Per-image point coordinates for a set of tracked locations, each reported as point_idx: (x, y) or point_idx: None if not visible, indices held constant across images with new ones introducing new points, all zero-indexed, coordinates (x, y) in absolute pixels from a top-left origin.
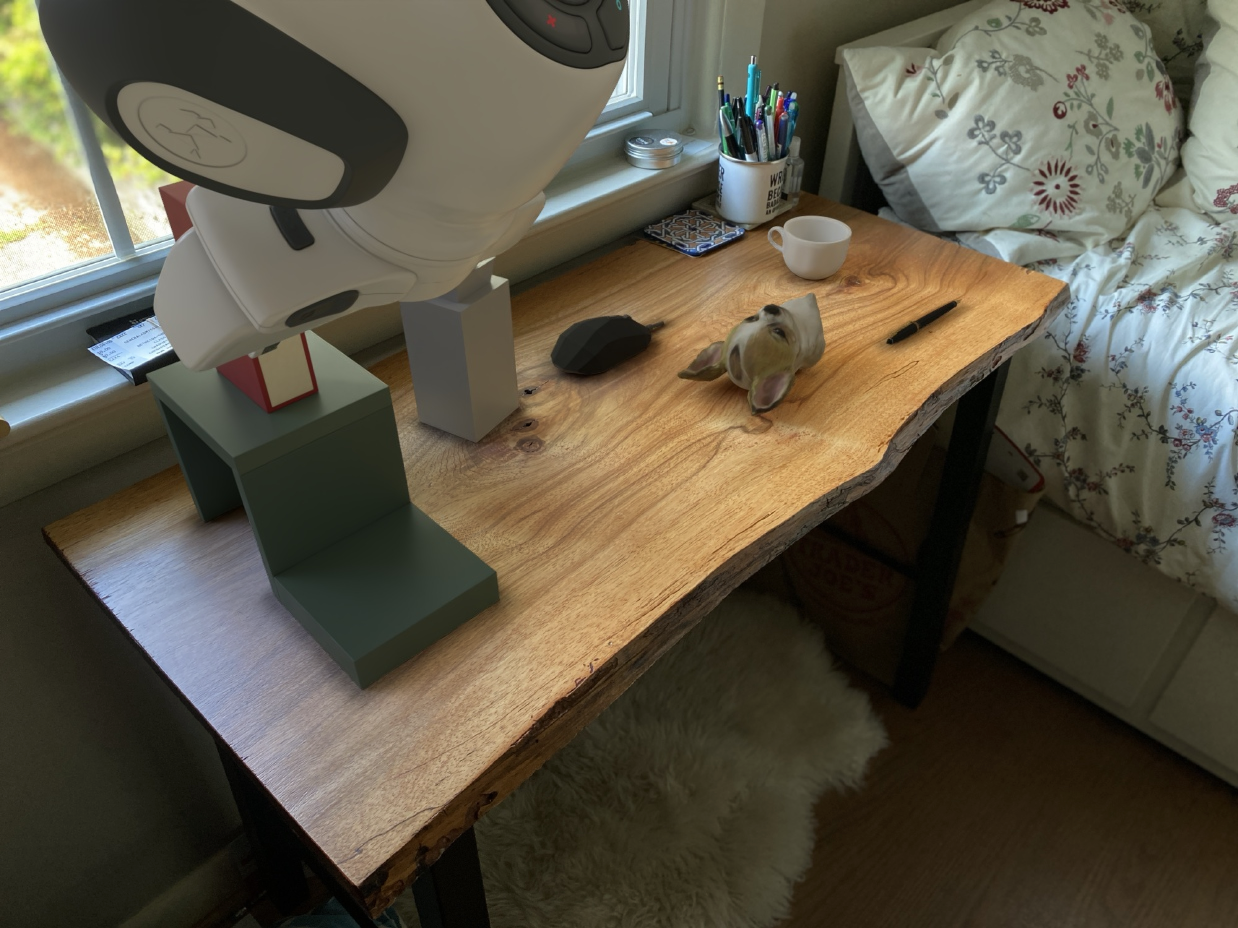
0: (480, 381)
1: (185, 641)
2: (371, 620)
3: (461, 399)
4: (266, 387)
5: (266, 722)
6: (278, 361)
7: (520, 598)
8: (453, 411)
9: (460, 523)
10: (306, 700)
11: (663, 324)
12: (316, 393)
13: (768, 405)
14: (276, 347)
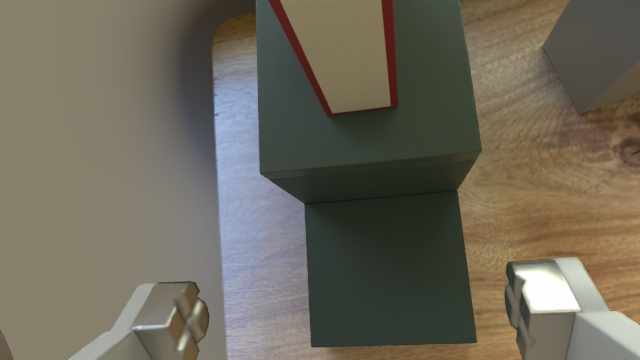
0: (635, 75)
1: (239, 197)
2: (346, 313)
3: (596, 79)
4: (326, 102)
5: (250, 316)
6: (346, 86)
7: (488, 348)
8: (579, 76)
9: (495, 217)
10: (281, 317)
11: None
12: (393, 108)
13: None
14: (202, 337)
